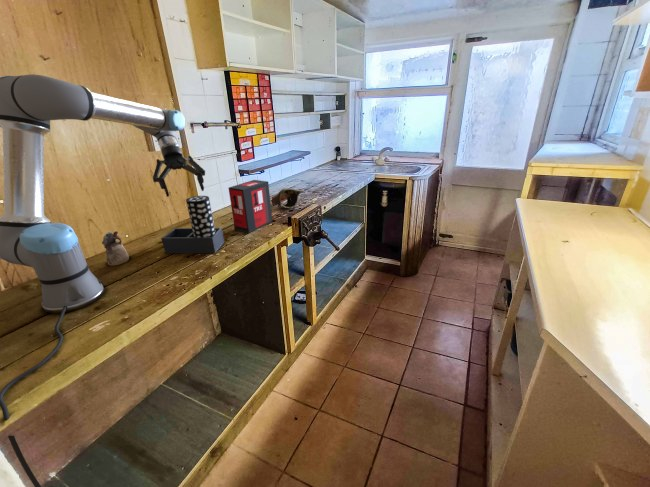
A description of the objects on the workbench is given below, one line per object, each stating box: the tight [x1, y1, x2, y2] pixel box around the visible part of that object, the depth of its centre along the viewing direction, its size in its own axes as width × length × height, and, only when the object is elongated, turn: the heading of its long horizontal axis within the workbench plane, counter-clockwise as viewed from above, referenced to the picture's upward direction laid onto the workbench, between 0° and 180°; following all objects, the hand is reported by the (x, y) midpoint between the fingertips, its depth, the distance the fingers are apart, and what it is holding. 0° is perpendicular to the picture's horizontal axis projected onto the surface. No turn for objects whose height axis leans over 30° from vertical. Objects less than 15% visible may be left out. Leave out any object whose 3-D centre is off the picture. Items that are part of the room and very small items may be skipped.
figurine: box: [101, 230, 130, 267], centre depth 117 cm, size 7×7×12 cm
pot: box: [271, 187, 303, 209], centre depth 177 cm, size 17×11×18 cm
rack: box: [160, 227, 225, 254], centre depth 127 cm, size 11×20×7 cm, turn 87°
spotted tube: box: [185, 195, 216, 237], centre depth 124 cm, size 8×8×20 cm
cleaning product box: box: [228, 179, 273, 234], centre depth 146 cm, size 16×9×20 cm, turn 149°
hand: (185, 191), depth 127 cm, fingers open, 13 cm apart
